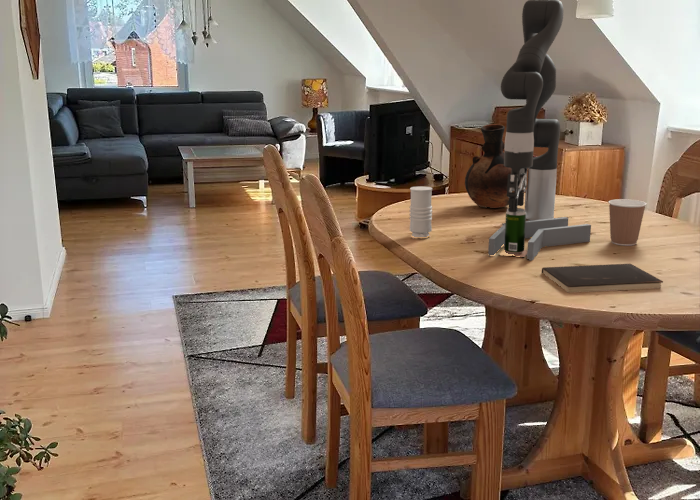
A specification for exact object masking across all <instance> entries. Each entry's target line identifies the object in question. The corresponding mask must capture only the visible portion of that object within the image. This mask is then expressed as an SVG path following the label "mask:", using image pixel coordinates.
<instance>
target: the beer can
mask: <svg viewBox="0 0 700 500" xmlns="http://www.w3.org/2000/svg"><path fill="white" fill-rule="evenodd" d="M526 221H527V219H526V212H525V208H519V207H517V212H509V208H506V212H505V222H504V223H505V243H504V246H503V249H504V250H505V252H506V253H508V254H514V255H517V254H522V253H523V251H524V250H525V241H526V240H525V225H526Z"/></svg>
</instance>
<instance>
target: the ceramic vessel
mask: <svg viewBox="0 0 700 500" xmlns="http://www.w3.org/2000/svg"><path fill="white" fill-rule="evenodd" d="M505 129H506V127H505V125H503V124H499V123H497V124H496V123H492V124H491V123H489V124H486V125H485V124H484V125H483V126H482V127H481V128H480V131H481V133H482V136H483V142H484V143H483V144H482V149H481V150H482V151H483V152H484V154H483V155H481V156H479V155H474V156H473V157H472V164H471V166H470V167H469V168H468V170H467V171H466V174H465V178H464V186H465V189H466V193H467V194H468V197H469V198H470V200H471V201H472V202H473V203H474V204H475V205H476V206H478V207H479V206H480V207H479V208H487V207H490V209H497V208H498V209H499V208H500V209H501V208H505V207H509V198H508V197H507V183H508V174H511V171H512V169H511V168H508V167H505V166H504V151H505V142H504V141H503V138H504V137H503V136H504V133H505ZM512 192H513V193H514V191H512Z"/></svg>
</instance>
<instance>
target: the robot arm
mask: <svg viewBox="0 0 700 500" xmlns="http://www.w3.org/2000/svg"><path fill="white" fill-rule="evenodd" d="M521 19H522V21H521V23H522V36H523V43H524V44H523V45H521V47H520V49H519V52H518V55H517V58H516V60H515V62H514V63H513V64H512V66H510V67H509V68H508V70H507V71H506V73H505V74H504V76H503V77H502V80H501V83H500V92H501V94H502V96H503V97H504V98H505V99H507V100H520V101H521V100H525V102H526V103H525V105H524V106H521V107H518V108H514V109H513V108H512V109H509V110H508V112H507V114H506V127H505V129H506V131H505V138H504V144H505V148H504V150H503V152H504V166H505V167H508V168H511V169H512V171H511V174H508V183H507V197H508V198H509V205H508V209H509V212H517V208H518V207H523V206H524V209H525V212H526V220H527V221H532V220H541V219H551V218H554V216H555V204H556V187H557V172H558V169H557V167H558V154H559V144H560V137H561V136H560V134H561V123H560V121H559V120H558V119H556V118H538V115H539V113H540V111H541V109H542V108H543V107H544V105H545V104H546V103H547V102H548V101H549V100H550V98H551V97H552V96H553V95H554V92H555V90H556V86H557V68H556V66H555V65H556V64H555V63H554V61H553V59H552V58H551V57H550V55H549V54H548V51H549V49H550V48H551V46H552V44H553V43H554V41H555V39H556V37H557V36H558V34H559V32H560V30H561V28H562V24H563V21H564V5H563V3H562V1H561V0H527V1H525V3H524V4H523V8H522V13H521ZM534 148H545V149H546V148H548V149H547V151H546V152H544V153H543V154H540V155H537V156H534ZM512 191H514V193H513V192H512Z"/></svg>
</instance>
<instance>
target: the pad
mask: <svg viewBox="0 0 700 500" xmlns="http://www.w3.org/2000/svg"><path fill="white" fill-rule="evenodd" d="M512 256H513V255H512ZM515 256H520V257H525V256H526V257H527V249H524V251H523V253H522V254H517V255H515ZM526 257H525V258H526Z"/></svg>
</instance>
